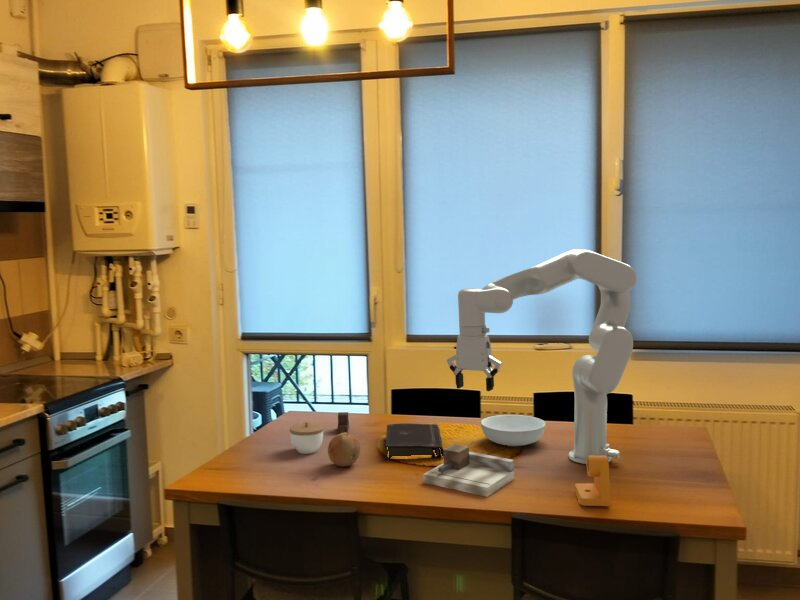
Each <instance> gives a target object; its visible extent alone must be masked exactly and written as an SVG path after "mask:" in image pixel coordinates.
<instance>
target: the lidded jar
mask: <svg viewBox="0 0 800 600" xmlns="http://www.w3.org/2000/svg"><path fill="white" fill-rule="evenodd" d="M324 429H325V428H324V426H323V425H322V424H321V423H318V422H308V421H304V422H302V423H301V422H300V423H296V424H293V425H292V426H290V427H289V434H290V435H289V438H290V442H291V445H292V446H293V448H294V449H295V450H296V451H297V453H299V454H304V455H305V454H306V455H307V454H308V455H309V454H314V453H316V452H317V451H318V450H319V449H320V447H321V446H322V444H323V440H324Z"/></svg>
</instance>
